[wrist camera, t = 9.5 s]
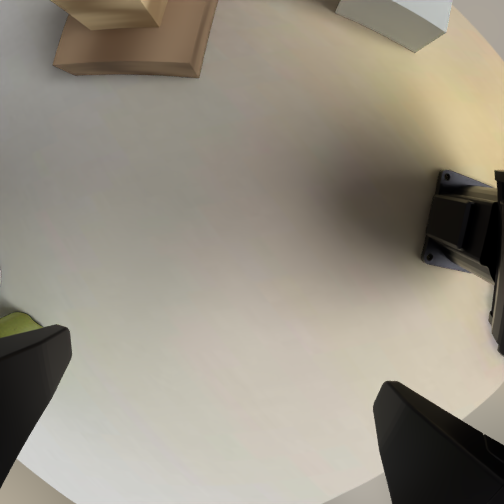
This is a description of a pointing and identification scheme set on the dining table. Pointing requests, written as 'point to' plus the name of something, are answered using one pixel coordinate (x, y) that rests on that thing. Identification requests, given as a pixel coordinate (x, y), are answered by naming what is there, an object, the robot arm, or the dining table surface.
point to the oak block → (115, 12)
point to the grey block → (400, 19)
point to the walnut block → (141, 44)
